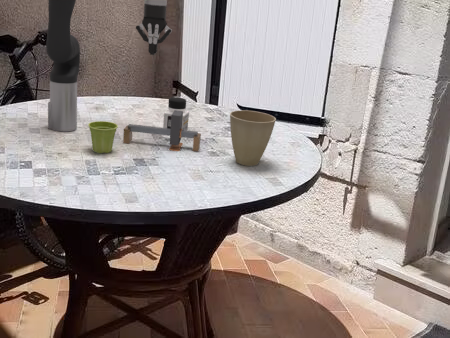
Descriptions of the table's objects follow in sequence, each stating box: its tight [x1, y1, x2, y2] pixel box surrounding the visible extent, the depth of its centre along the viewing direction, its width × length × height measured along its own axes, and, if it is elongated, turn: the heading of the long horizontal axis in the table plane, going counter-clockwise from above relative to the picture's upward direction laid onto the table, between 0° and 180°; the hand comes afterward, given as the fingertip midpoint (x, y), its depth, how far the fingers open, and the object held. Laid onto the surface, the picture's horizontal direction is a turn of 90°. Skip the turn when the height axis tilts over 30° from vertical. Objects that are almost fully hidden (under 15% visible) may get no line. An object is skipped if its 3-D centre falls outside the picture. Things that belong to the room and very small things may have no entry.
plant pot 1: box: [87, 120, 119, 154], centre depth 181 cm, size 9×9×9 cm
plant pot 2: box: [229, 109, 277, 167], centre depth 183 cm, size 15×15×16 cm
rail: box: [122, 123, 202, 152], centre depth 193 cm, size 26×9×6 cm, turn 87°
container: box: [162, 96, 190, 131], centre depth 210 cm, size 8×8×13 cm
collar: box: [169, 110, 183, 145], centre depth 192 cm, size 3×7×10 cm, turn 177°
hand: (152, 54), depth 196 cm, fingers closed
